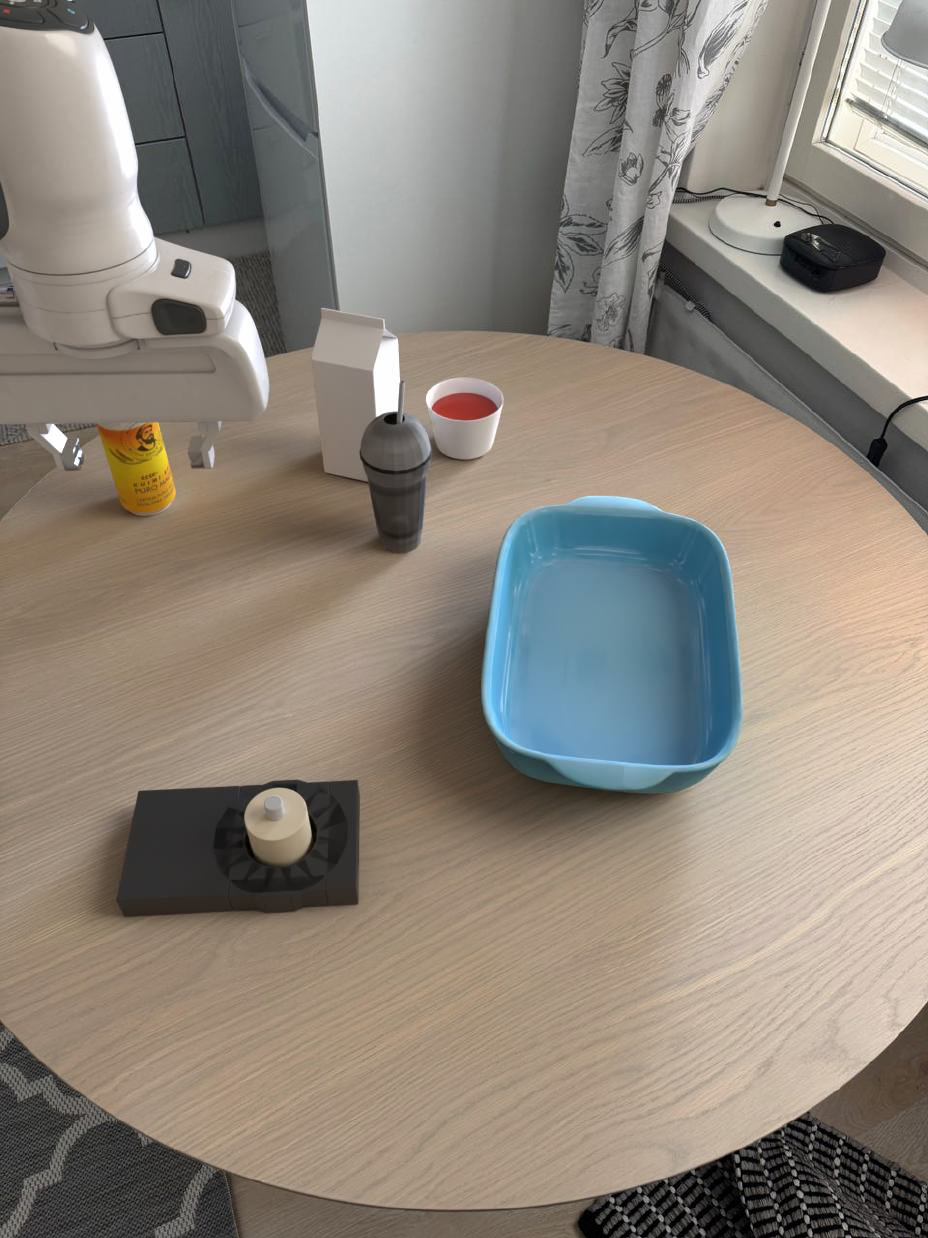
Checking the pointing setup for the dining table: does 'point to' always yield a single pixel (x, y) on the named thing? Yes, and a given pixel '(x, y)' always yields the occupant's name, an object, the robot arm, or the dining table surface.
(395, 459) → the beverage cup
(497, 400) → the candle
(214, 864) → the board
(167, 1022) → the dining table surface
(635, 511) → the casserole dish
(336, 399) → the milk carton
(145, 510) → the beer can
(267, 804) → the stopper
